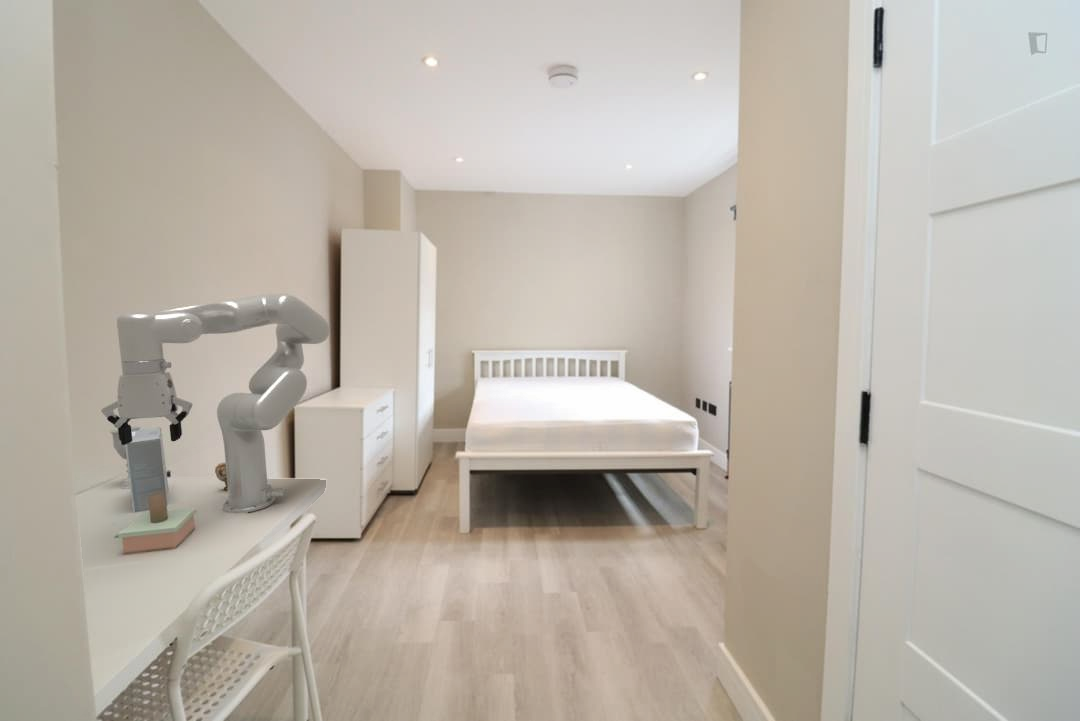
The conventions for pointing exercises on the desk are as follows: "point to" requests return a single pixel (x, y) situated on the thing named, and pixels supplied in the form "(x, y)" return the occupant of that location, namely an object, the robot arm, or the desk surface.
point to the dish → (158, 540)
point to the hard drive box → (146, 467)
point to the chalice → (122, 452)
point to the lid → (157, 519)
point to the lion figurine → (221, 473)
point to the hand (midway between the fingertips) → (151, 441)
